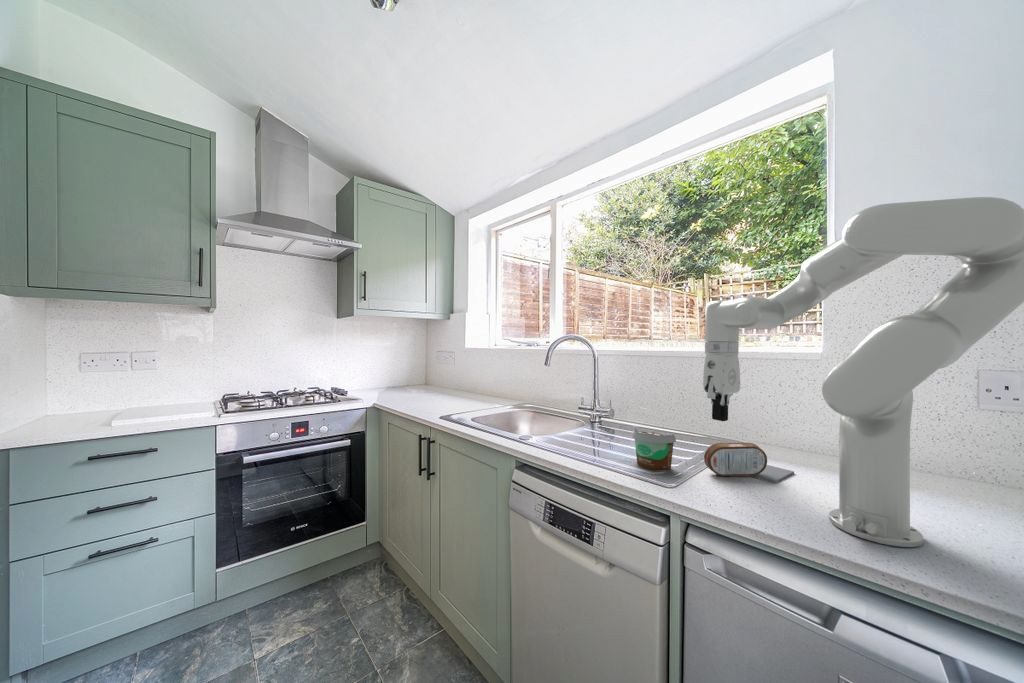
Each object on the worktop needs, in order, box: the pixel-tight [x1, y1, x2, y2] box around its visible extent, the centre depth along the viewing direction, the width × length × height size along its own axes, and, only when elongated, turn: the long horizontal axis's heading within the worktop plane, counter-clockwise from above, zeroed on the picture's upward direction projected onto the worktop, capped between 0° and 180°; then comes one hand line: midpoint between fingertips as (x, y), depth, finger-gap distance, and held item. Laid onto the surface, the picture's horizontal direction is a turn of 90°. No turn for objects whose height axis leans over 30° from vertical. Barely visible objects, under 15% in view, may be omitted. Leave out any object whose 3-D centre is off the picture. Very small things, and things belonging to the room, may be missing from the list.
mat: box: [750, 464, 795, 484], centre depth 101 cm, size 12×16×1 cm
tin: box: [703, 442, 768, 477], centre depth 96 cm, size 15×3×8 cm, turn 84°
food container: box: [631, 427, 677, 472], centre depth 103 cm, size 12×6×10 cm, turn 47°
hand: (719, 419), depth 93 cm, fingers closed
